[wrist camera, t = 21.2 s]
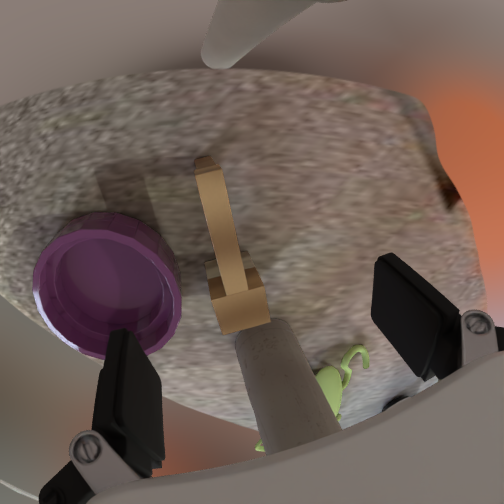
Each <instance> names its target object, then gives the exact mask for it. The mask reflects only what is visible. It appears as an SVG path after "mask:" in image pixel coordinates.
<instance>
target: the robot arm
mask: <svg viewBox="0 0 504 504" xmlns="http://www.w3.org/2000/svg"><path fill="white" fill-rule="evenodd" d="M459 311H460V310H459V309H458V308H457V307H456V306H454V305H453V304H452V303H451V302H450V301H449V300H448V299H447V298H446V297H445V296H443V295H442V294H441V293H440V292H439V291H438V290H437V289H435V288H434V287H433V286H432V285H431V284H430V283H429V282H427V281H426V280H425V279H424V278H423V277H422V276H420V275H419V274H418V273H417V272H416V271H414V270H413V269H412V268H411V267H410V266H408V265H407V264H406V263H405V262H404V261H402V260H401V259H400V258H399V257H397V256H396V255H395V254H394V253H388V254H385V255H382V256H380V257H378V259H377V261H376V262H375V265H374V281H373V294H372V306H371V317H372V320H373V322H374V323H375V324H376V325H377V327H378V328H379V329H380V330H381V332H382V333H383V334H384V335H385V337H386V338H387V339H388V340H389V342H390V343H391V344H392V345H393V347H394V348H395V349H396V351H397V352H398V353H399V354H400V356H401V357H402V358H403V359H404V361H405V362H406V363H407V365H408V366H409V367H410V369H411V370H412V371H413V372H414V374H415V375H416V376H417V377H421V378H422V379H423V381H424V382H425V381H427V380H429V379H431V378H432V377H434V376H435V375H436V377H437V378H438V382H437V383H435V384H434V385H432V386H430V387H429V388H427V389H425V390H423V391H422V392H420V393H418V394H416V395H414V396H413V397H411V398H409V399H407V400H405V401H403V402H402V403H400V404H398V405H396V406H394V407H392V408H390V409H388V410H386V411H384V412H382V413H380V414H377V415H375V416H373V417H371V418H369V419H367V420H364V421H362V422H360V423H358V424H355V425H353V426H351V427H348V428H346V429H344V430H341V431H339V432H336V433H334V434H331V435H328V436H326V437H323V438H320V439H318V440H315V441H312V442H309V443H306V444H303V445H300V446H297V447H294V448H291V449H288V450H285V451H281V452H278V453H274V454H271V455H267V456H264V457H260V458H257V459H253V460H248V461H244V462H240V463H235V464H231V465H227V466H222V467H216V468H211V469H206V470H200V471H194V472H188V473H183V474H175V475H167V476H161V477H154V478H153V477H152V476H151V475H152V469H156V468H162V460H164V459H165V447H164V432H163V414H162V385H161V380H160V377H159V375H158V374H157V372H156V370H155V369H154V367H153V365H152V364H151V362H150V361H149V359H148V357H147V356H146V354H145V352H144V350H143V349H142V347H141V345H140V344H139V342H138V340H137V338H136V337H135V335H134V333H133V332H132V331H128V330H127V329H126V328H122V329H117V330H113V331H111V332H110V335H109V340H108V345H107V350H106V355H105V361H104V367H103V369H101V371H100V374H99V380H98V385H97V392H96V398H95V406H94V413H93V421H92V430H86V431H82V432H80V433H79V434H77V435H76V436H75V437H74V438H73V440H72V442H71V443H70V447H69V456H70V458H71V461H70V462H69V463H68V464H67V465H65V467H63V469H61V470H60V471H59V472H58V473H57V474H56V475H55V476H54V477H53V478H52V479H51V480H50V481H49V482H48V483H47V484H46V485H44V487H43V488H42V489H41V491H40V494H39V504H504V328H503V327H496V326H495V325H494V322H493V320H492V318H491V317H490V316H489V315H488V314H487V313H485V312H483V311H480V310H469V311H466V312H465V313H464V314H463V315H462V316H461V315H460V314H459Z"/></svg>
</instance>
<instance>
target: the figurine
mask: <svg viewBox="0 0 504 504" xmlns="http://www.w3.org/2000/svg"><path fill="white" fill-rule="evenodd" d="M357 352H361V354H362V358H363V368H364V369H367V368H368V367H369V355H368V351H367V349H366V348H365V347H364V346H363V345H355V346H353V347H352V348H351V349H350V350H349V351H348V352H347V353H346V354H345V355H344V357H343V359H342V362H341V368H342V369H343V370H345V375H344V379H343V381H341V377H340V374H339V372H338V370H337V369H335V368H334V367H333V366H327V367H324V368H322V369H321V370H320V371H319V372H318V373H317V374H316V375H314V376H315V378H316V379H317V381H318V383H319V385H320V387H321V389H322V391H323V393H324V395H325V397H326V399H327V401H328V403H329V405H330V407H331V409H332V411H333V413H334V414H335V416H336V418H337V420H338V421H339V420H340V419H341V414H338V411H339V408H340V405H341V398H342V391H343V390H344V389H345V388H346V387H347V385H348V383H349V381H350V378H351V372H352V370H351V369H349V368H348V364H349V361H350V359H351V358H352V357H353V355H354V354H356V353H357ZM260 444H262V440H261V439H260V440H259V442H258V443H257V444H256V446H255V449H256V450H257V451H264V452H265V450H264V446H259V445H260Z"/></svg>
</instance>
